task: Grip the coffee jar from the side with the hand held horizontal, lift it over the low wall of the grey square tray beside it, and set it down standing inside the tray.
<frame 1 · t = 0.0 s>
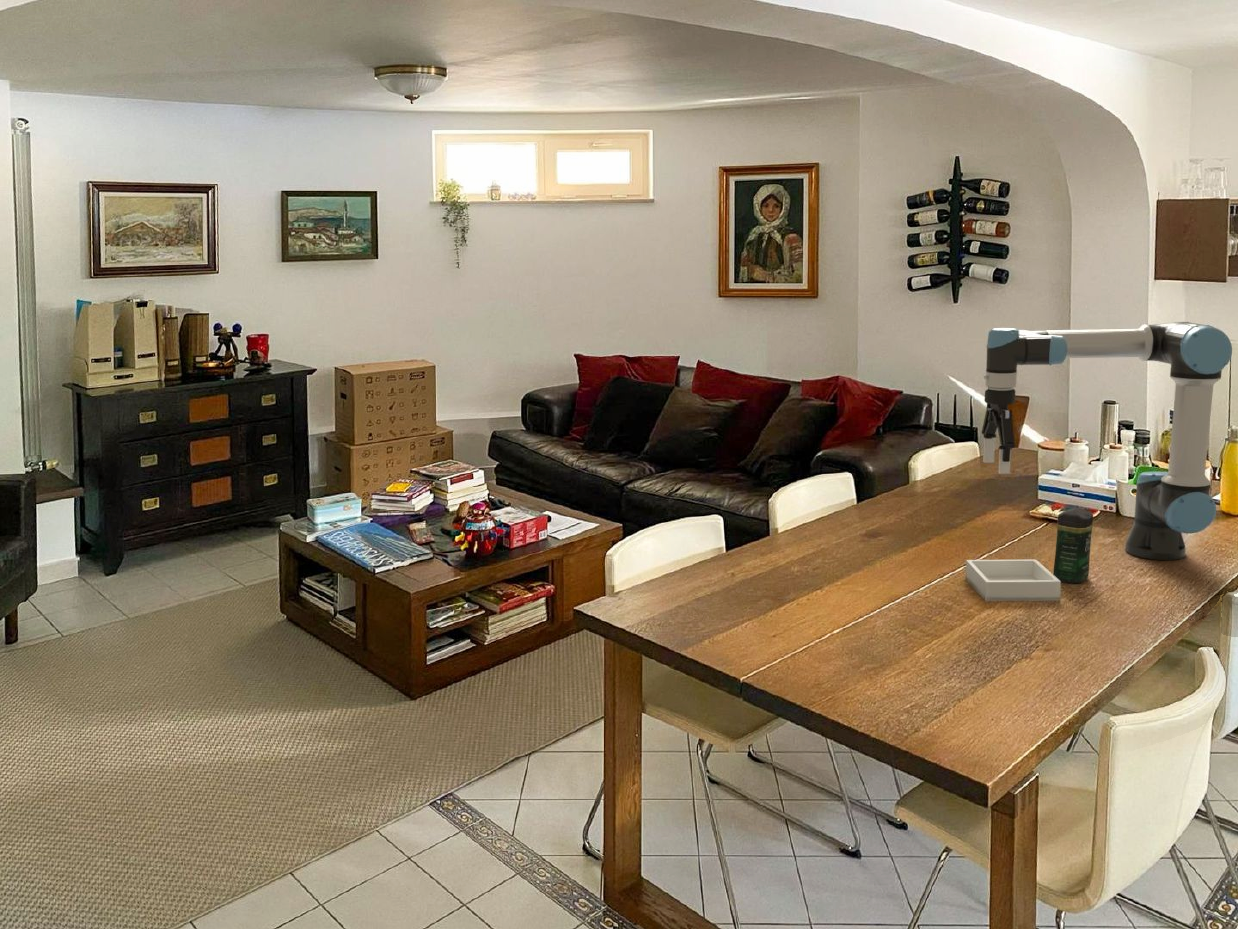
hand: (996, 467, 283), 28 cm above the table, tool pointing down, fingers open, 13 cm apart
coffee jar: (1071, 579, 279), on the table
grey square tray: (1010, 589, 272), on the table
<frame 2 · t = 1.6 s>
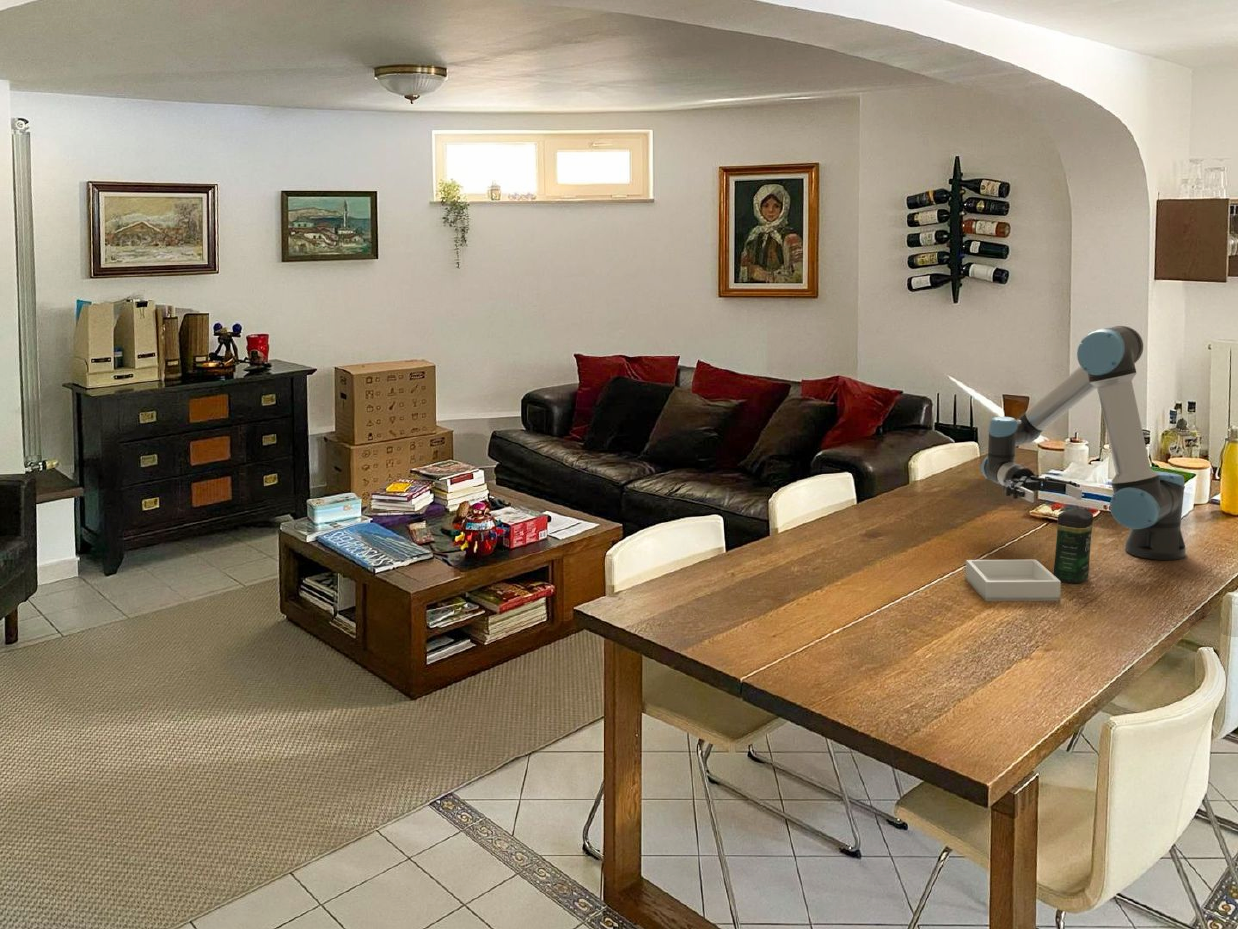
hand: (1056, 496, 284), 20 cm above the table, tool horizontal, fingers open, 13 cm apart
nothing on the table moved.
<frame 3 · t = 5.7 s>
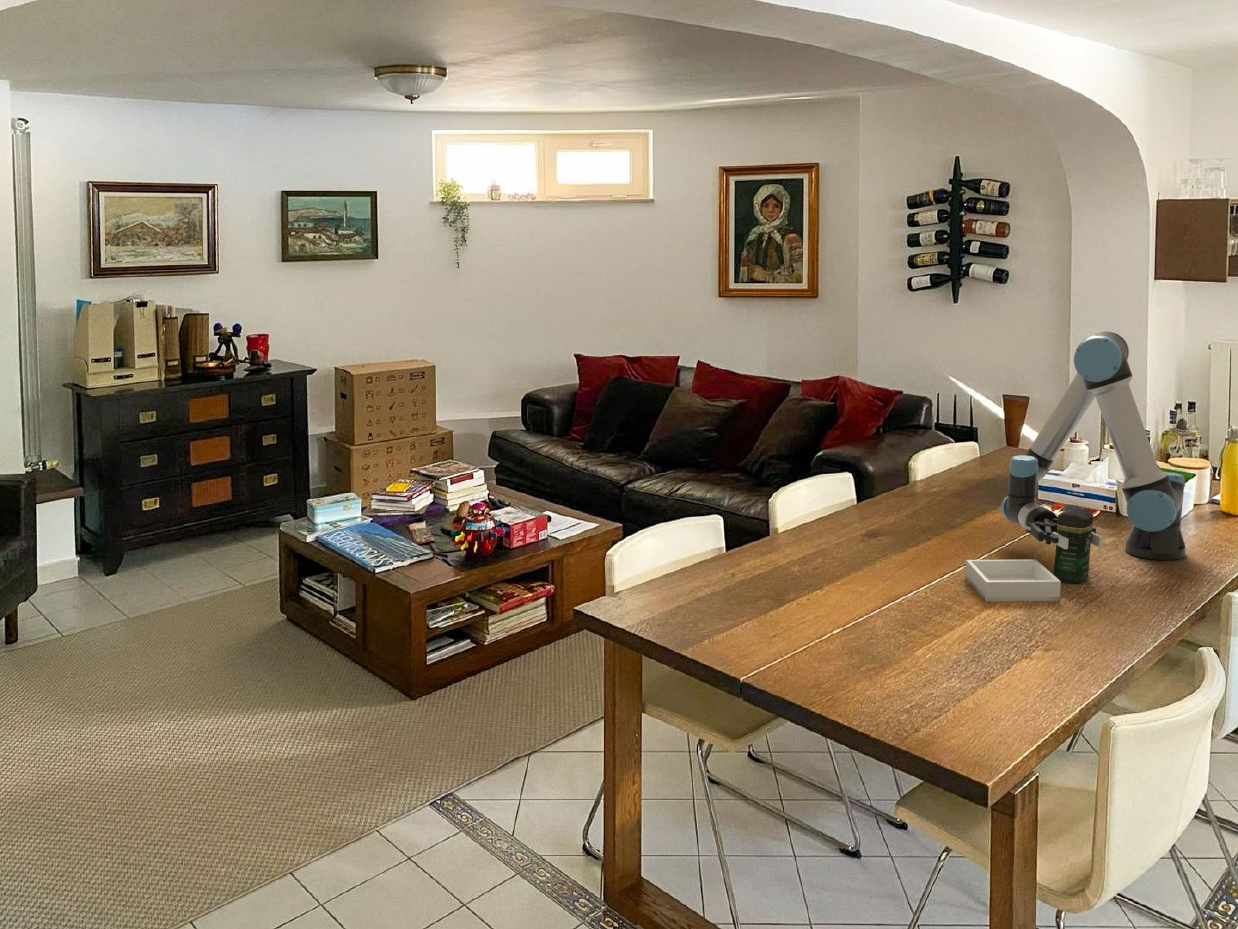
hand: (1083, 543, 273), 11 cm above the table, tool horizontal, fingers closed on coffee jar, 8 cm apart
coffee jar: (1071, 579, 279), on the table, touching gripper
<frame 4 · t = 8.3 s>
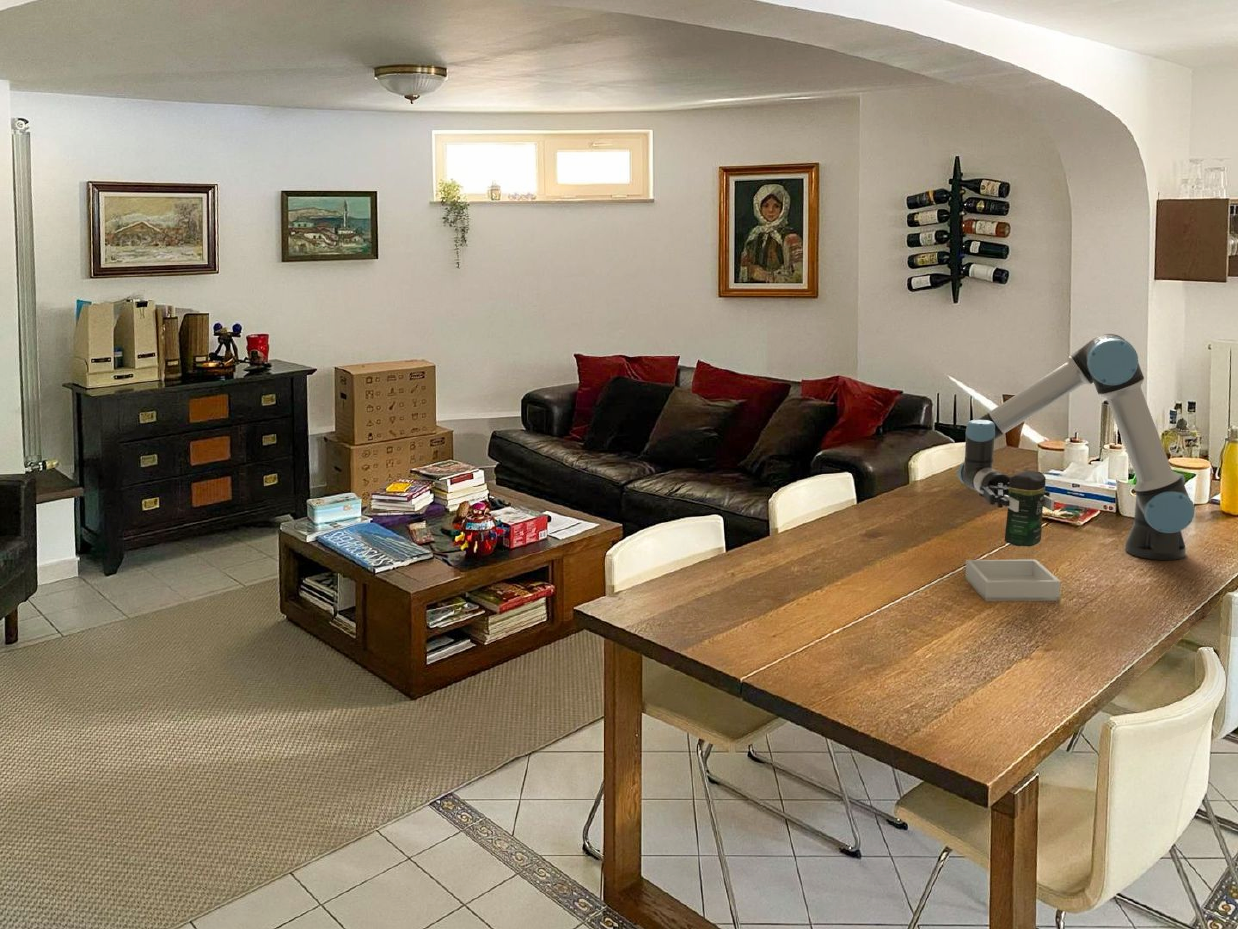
hand: (1034, 505, 266), 22 cm above the table, tool horizontal, fingers closed on coffee jar, 8 cm apart
coffee jar: (1023, 543, 273), point 11 cm above the table, touching gripper
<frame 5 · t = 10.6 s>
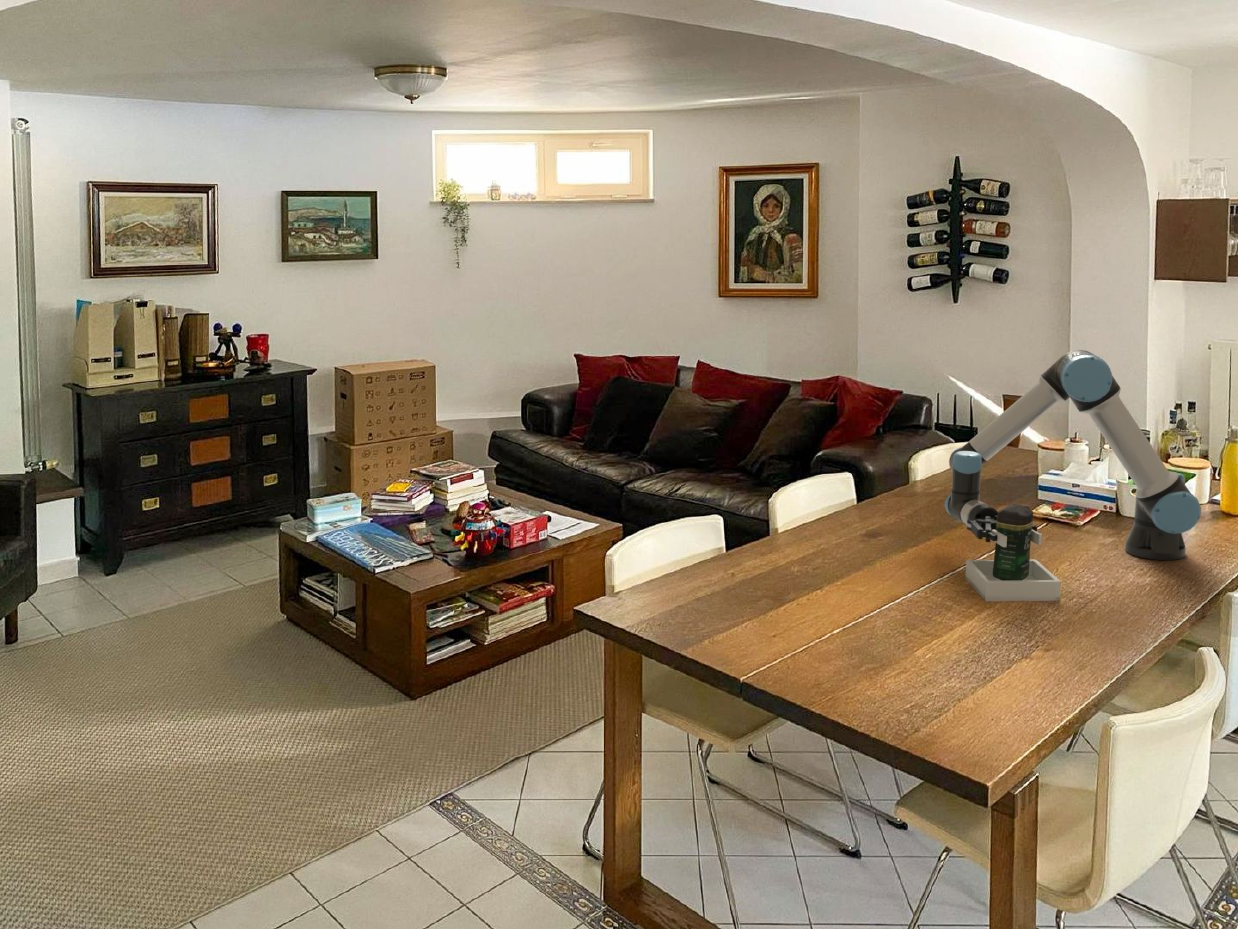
hand: (1022, 540, 265), 14 cm above the table, tool horizontal, fingers closed on coffee jar, 8 cm apart
coffee jar: (1010, 578, 272), point 3 cm above the table, touching gripper
when the fingers open (13 cm above the table, at t = 11.3 s): coffee jar drops 1 cm, point 1 cm above the table.
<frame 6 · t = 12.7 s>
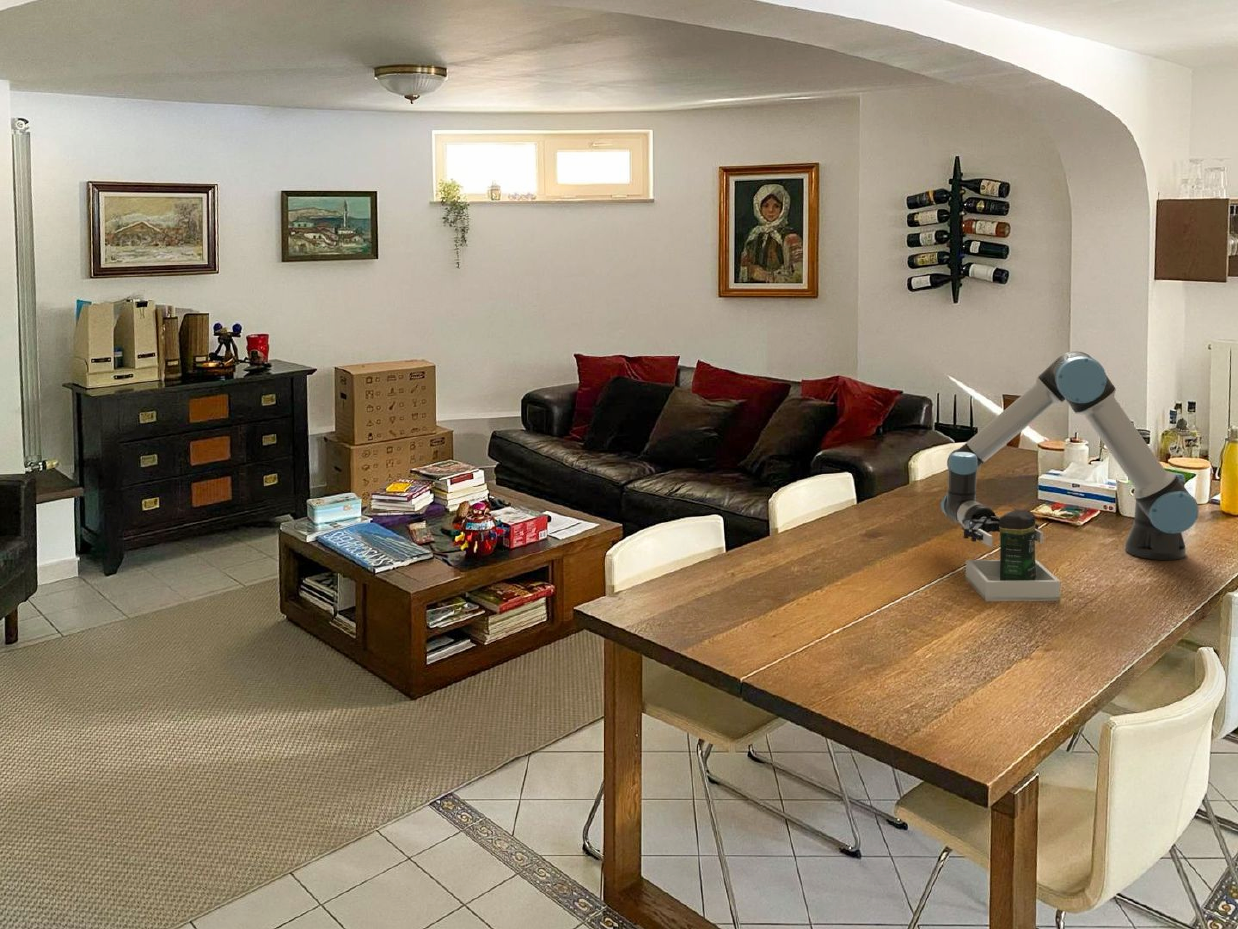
hand: (1016, 539, 268), 14 cm above the table, tool horizontal, fingers open, 13 cm apart
coffee jar: (1018, 582, 274), point 1 cm above the table, touching gripper
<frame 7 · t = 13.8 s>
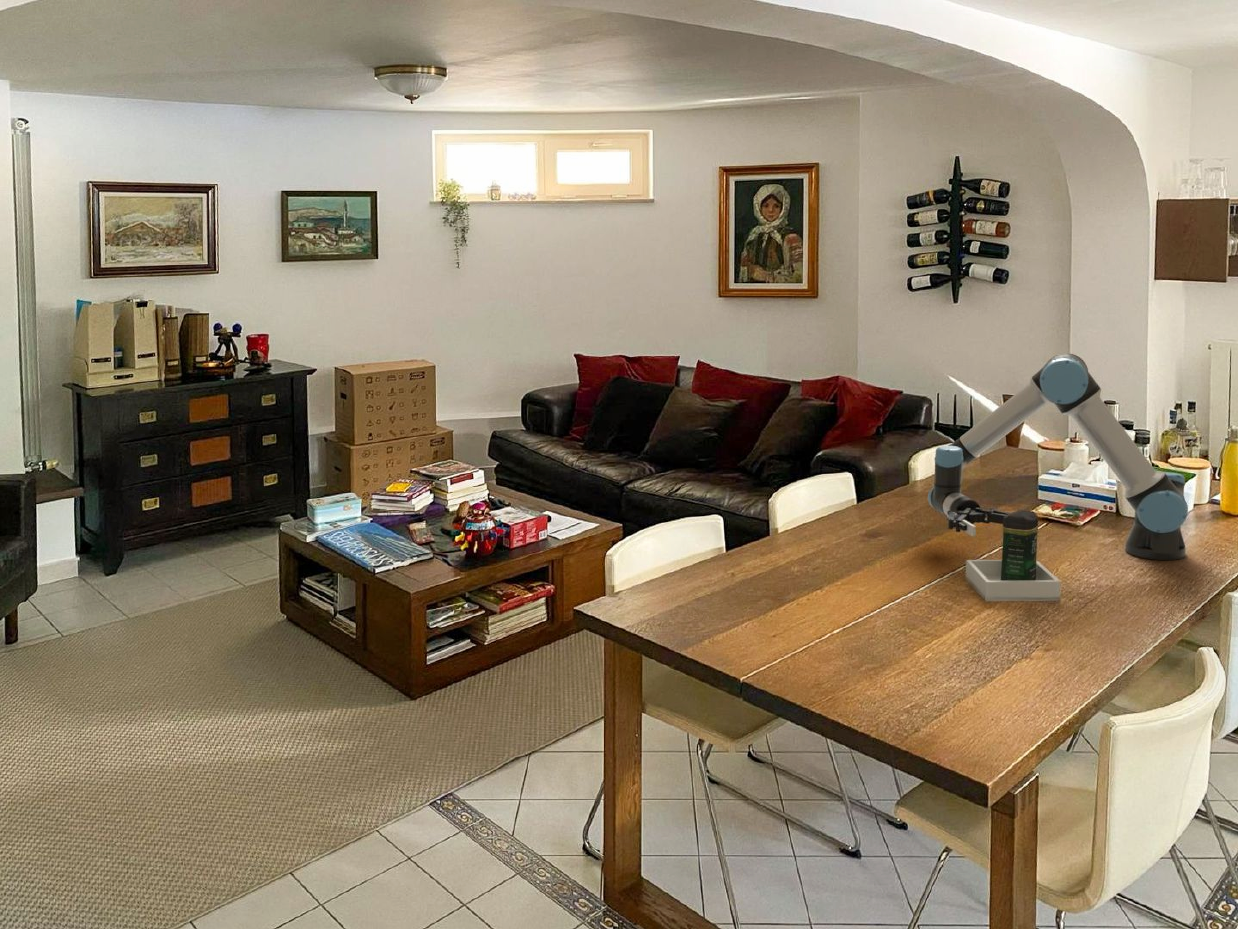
hand: (999, 529, 277), 14 cm above the table, tool horizontal, fingers open, 13 cm apart
coffee jar: (1018, 583, 274), point 1 cm above the table, touching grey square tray
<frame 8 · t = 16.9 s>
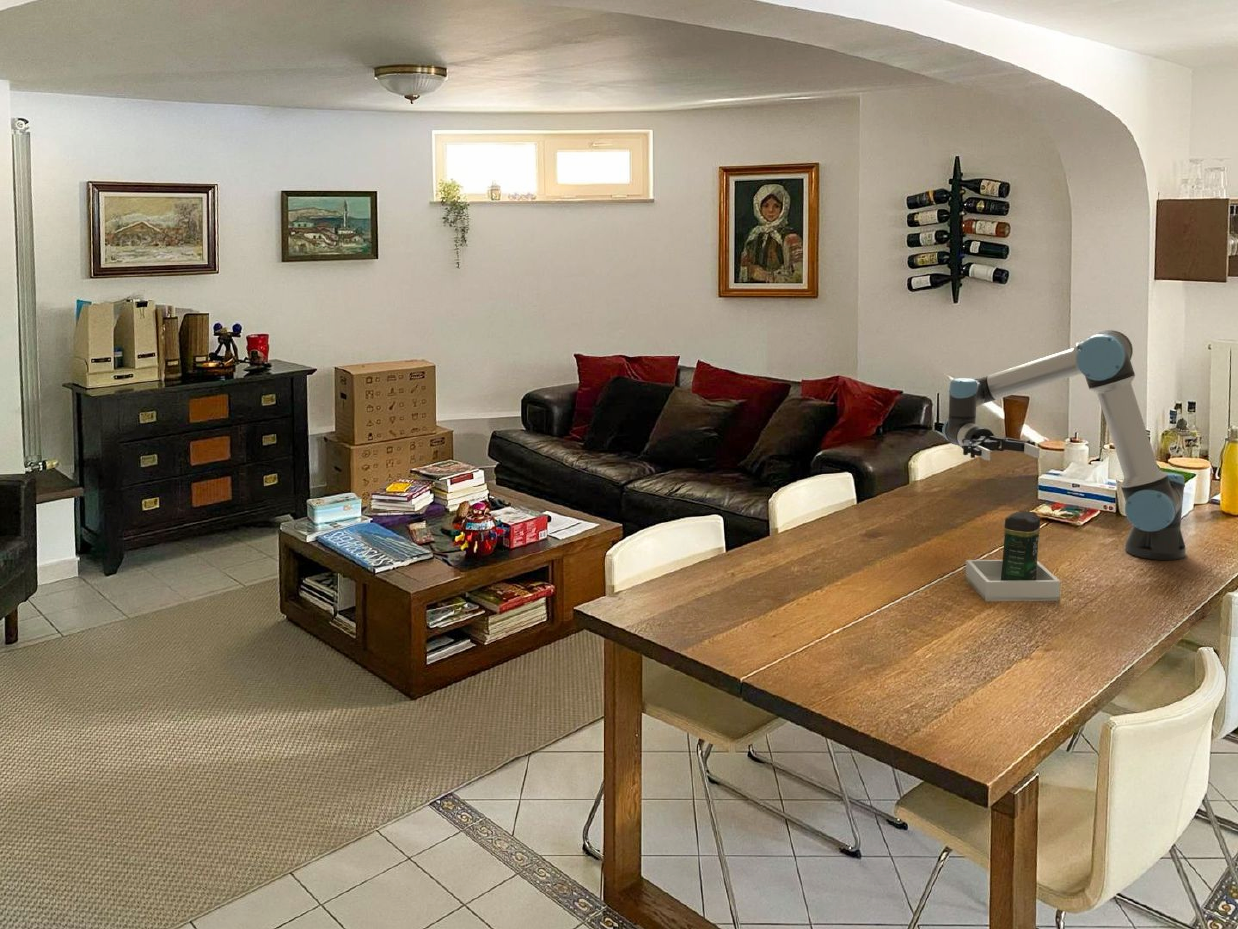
hand: (1013, 454, 280), 32 cm above the table, tool horizontal, fingers open, 13 cm apart
nothing on the table moved.
at the end: coffee jar inside the target area on the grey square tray (3.0 cm from its centre), point 0.8 cm above the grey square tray's base; coffee jar tilted 0°; the gripper is holding nothing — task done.
